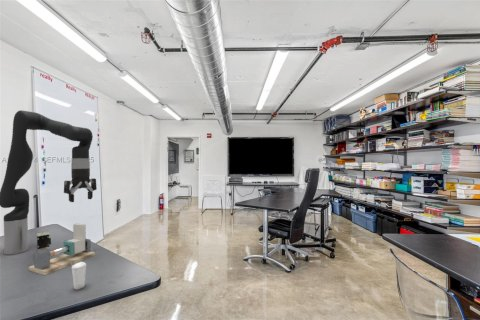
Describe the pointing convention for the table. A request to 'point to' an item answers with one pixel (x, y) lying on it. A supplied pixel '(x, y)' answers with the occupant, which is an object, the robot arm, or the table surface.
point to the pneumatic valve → (43, 240)
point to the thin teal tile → (71, 247)
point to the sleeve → (79, 237)
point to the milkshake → (79, 274)
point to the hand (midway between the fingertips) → (81, 200)
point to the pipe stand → (58, 259)
